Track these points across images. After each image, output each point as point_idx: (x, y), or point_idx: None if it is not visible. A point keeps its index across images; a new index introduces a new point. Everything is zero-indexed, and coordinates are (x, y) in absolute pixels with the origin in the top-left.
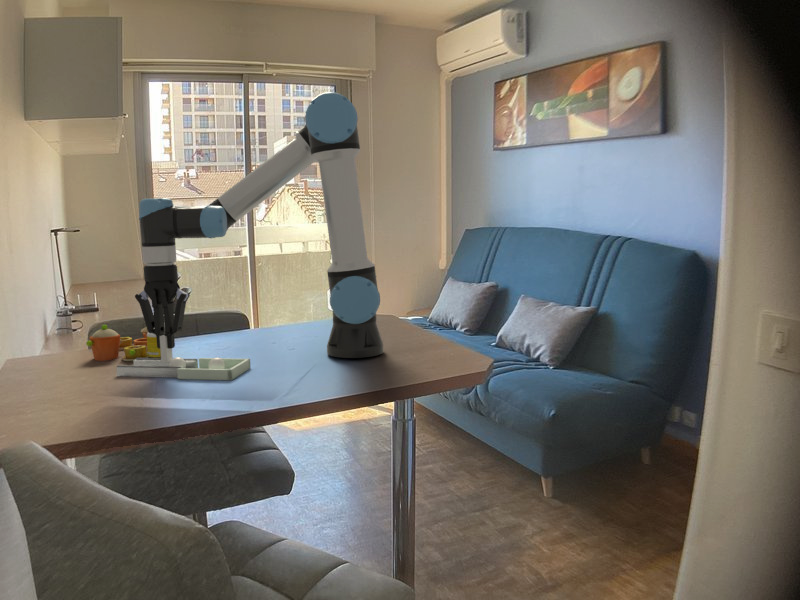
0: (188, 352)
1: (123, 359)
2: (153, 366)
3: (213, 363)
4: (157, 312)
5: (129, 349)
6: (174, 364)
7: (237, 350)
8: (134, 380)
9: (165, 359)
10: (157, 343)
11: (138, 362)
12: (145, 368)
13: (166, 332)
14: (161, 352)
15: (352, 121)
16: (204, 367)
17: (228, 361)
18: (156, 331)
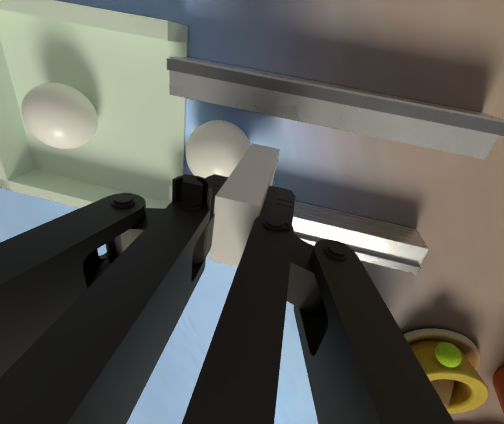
0: (283, 380)
1: (472, 343)
2: (300, 84)
3: (43, 88)
4: (204, 404)
5: (463, 373)
6: (216, 124)
7: (168, 365)
8: (382, 13)
9: (256, 149)
10: (290, 202)
11: (402, 238)
12: (342, 88)
13: (196, 209)
14: (269, 163)
15: None
16: (164, 201)
17: (70, 191)
18: (279, 235)
